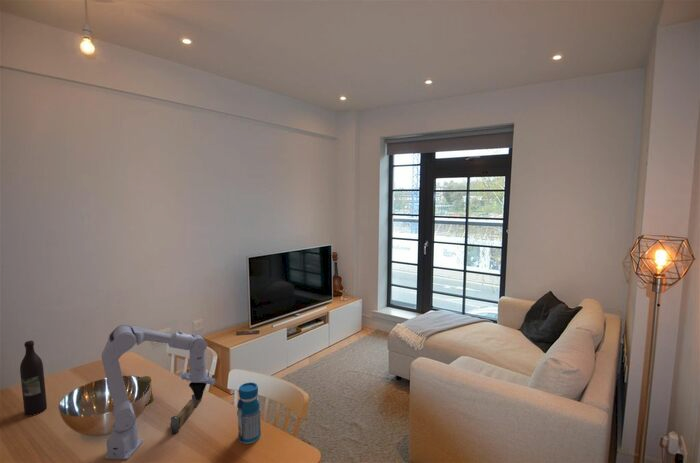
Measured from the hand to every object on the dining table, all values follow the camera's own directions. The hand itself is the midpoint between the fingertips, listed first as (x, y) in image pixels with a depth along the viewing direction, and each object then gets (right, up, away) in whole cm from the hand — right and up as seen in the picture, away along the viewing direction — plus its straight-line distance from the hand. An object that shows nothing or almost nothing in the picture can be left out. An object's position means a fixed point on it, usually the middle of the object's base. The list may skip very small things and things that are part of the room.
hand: (199, 398), depth 144 cm
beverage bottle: (+22, -11, -8) cm, 26 cm away
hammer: (-7, -9, +4) cm, 12 cm away
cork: (-29, -8, +14) cm, 33 cm away
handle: (-6, -9, +2) cm, 11 cm away
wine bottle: (-70, -9, +7) cm, 71 cm away
